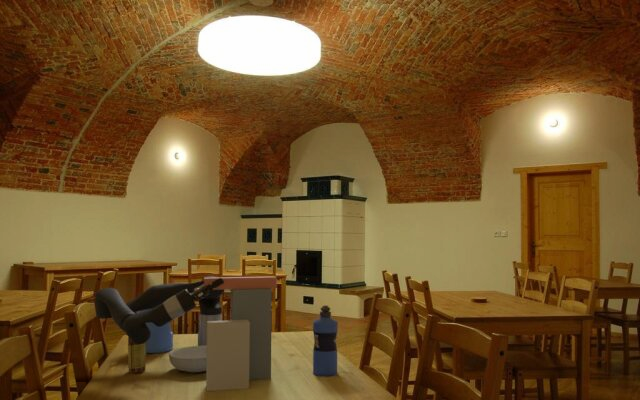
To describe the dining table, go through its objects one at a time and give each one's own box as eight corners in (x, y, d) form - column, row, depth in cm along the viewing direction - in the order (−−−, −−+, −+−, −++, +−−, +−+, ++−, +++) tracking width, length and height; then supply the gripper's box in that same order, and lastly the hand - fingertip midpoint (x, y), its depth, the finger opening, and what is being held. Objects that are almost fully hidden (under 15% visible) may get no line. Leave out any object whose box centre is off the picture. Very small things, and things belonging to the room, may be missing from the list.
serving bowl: (177, 362, 218) (177, 345, 218) (229, 363, 217) (229, 345, 217) (160, 376, 197) (161, 357, 197) (217, 377, 196) (218, 358, 197)
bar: (204, 289, 192) (204, 278, 193) (203, 288, 196) (204, 277, 197) (276, 288, 199) (276, 277, 199) (274, 287, 203) (274, 276, 203)
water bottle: (334, 369, 207) (334, 303, 209) (340, 376, 198) (340, 307, 200) (310, 370, 205) (310, 304, 207) (315, 377, 196) (315, 308, 198)
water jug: (153, 355, 229) (154, 289, 230) (128, 351, 237) (129, 286, 238) (180, 348, 242) (181, 285, 243) (156, 344, 250) (157, 283, 252)
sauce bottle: (149, 370, 205) (150, 317, 206) (138, 374, 200) (139, 320, 201) (134, 368, 208) (135, 316, 209) (123, 372, 202) (124, 319, 203)
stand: (206, 391, 179) (208, 294, 181) (205, 376, 197) (206, 288, 199) (275, 386, 185) (276, 292, 187) (267, 372, 202) (268, 286, 204)
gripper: (173, 297, 185) (218, 271, 189) (174, 292, 199) (216, 268, 203) (184, 316, 186) (228, 290, 190) (185, 310, 199) (226, 286, 203)
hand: (222, 279), depth 196 cm, fingers closed on bar, 4 cm apart
